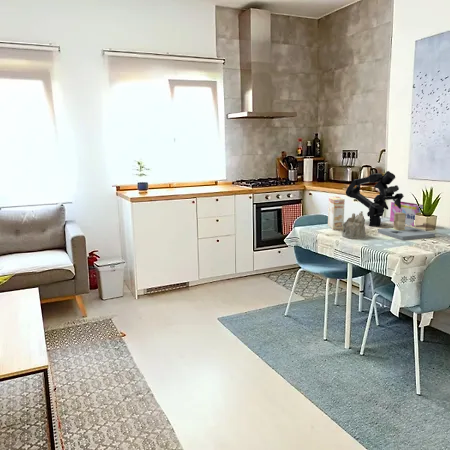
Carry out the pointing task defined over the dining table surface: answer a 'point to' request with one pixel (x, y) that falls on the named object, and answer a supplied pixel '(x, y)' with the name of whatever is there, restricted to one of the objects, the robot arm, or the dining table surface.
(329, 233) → the dining table surface
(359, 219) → the grey rough lump
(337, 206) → the coffeecake box
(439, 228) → the dining table surface
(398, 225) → the beech post
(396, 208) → the gum box
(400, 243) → the dining table surface
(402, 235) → the board
